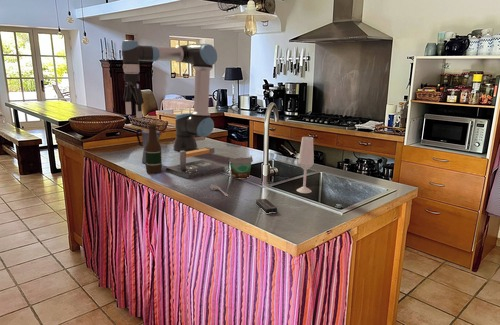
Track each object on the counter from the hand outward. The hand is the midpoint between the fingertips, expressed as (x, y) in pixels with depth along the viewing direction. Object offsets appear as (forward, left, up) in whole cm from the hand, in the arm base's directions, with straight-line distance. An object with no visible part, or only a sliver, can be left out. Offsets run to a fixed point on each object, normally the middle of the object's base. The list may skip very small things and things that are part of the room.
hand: (134, 116), depth 189 cm
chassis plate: (-18, +26, -27) cm, 42 cm away
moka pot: (-10, -4, -27) cm, 29 cm away
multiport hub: (-5, +85, -27) cm, 90 cm away
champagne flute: (-33, +83, -27) cm, 94 cm away
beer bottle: (-1, +14, -27) cm, 31 cm away
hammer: (-19, +26, -24) cm, 40 cm away
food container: (-27, +51, -27) cm, 64 cm away
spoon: (-4, +61, -27) cm, 67 cm away
